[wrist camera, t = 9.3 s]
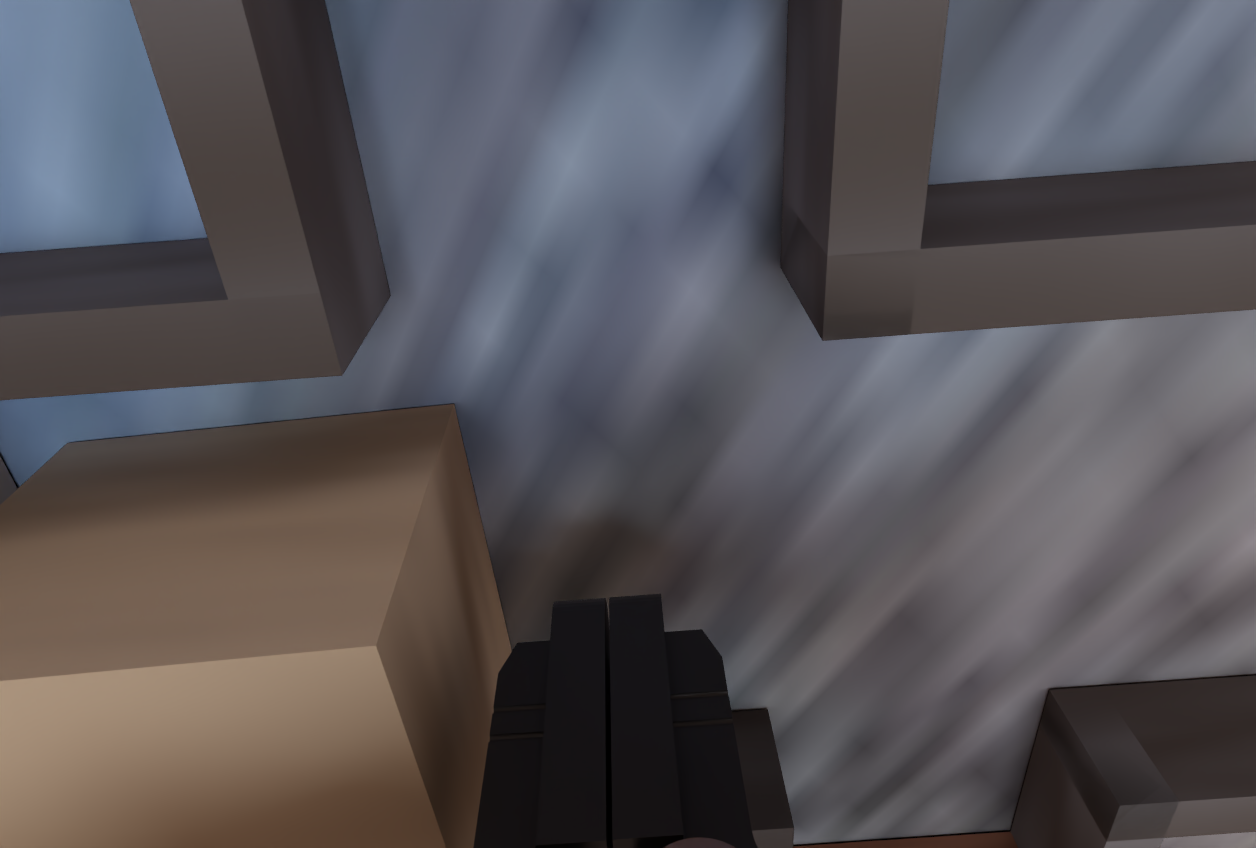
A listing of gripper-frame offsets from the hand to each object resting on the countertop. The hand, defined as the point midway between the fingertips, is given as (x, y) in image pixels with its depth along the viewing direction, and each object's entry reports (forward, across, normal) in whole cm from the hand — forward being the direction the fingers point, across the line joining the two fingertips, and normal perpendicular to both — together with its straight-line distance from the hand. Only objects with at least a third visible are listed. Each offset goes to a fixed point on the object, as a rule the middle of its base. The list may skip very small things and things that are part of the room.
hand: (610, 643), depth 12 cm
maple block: (+2, +5, 0) cm, 6 cm away
